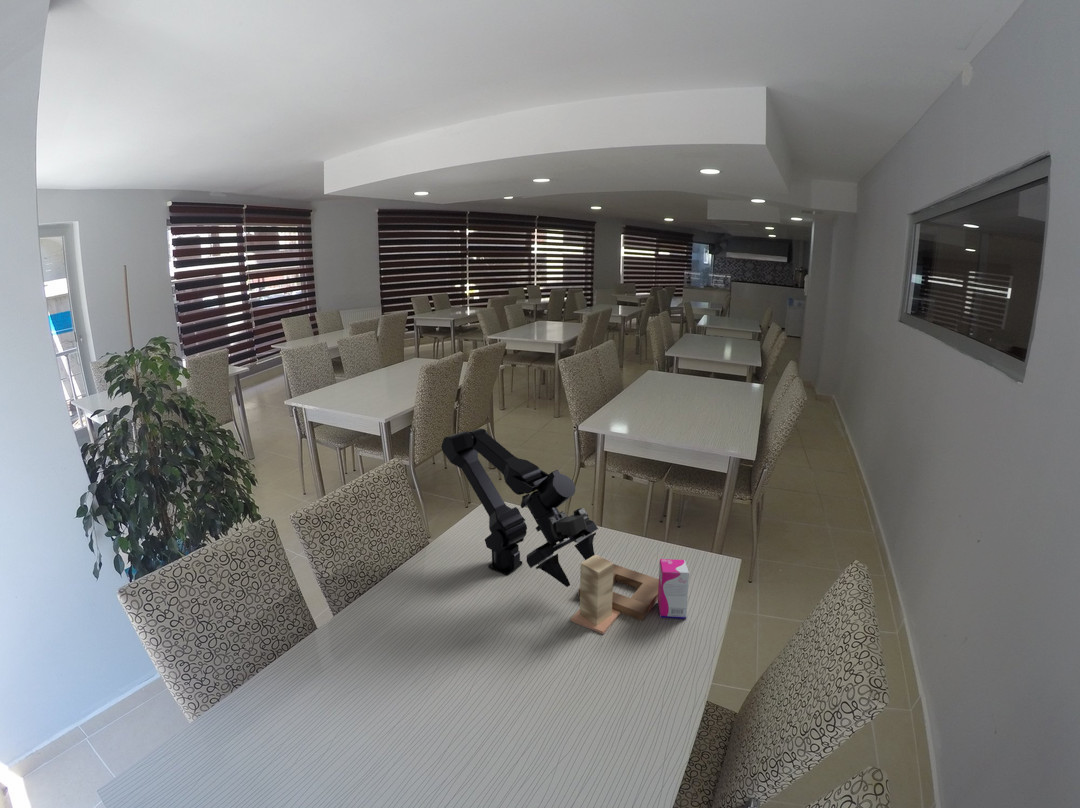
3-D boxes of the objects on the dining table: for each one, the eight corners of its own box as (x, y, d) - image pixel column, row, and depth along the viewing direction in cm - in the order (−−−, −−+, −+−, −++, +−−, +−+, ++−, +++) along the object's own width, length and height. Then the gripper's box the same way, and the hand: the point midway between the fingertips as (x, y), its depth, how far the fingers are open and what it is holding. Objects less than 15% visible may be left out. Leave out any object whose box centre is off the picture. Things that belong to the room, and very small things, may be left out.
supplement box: (682, 603, 130) (686, 558, 127) (686, 619, 125) (690, 573, 121) (656, 601, 131) (659, 557, 128) (659, 618, 125) (662, 572, 122)
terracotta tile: (570, 620, 124) (570, 618, 124) (588, 602, 131) (588, 599, 131) (603, 634, 120) (603, 631, 120) (620, 614, 126) (620, 611, 126)
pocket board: (578, 596, 133) (578, 589, 132) (606, 568, 144) (606, 561, 143) (642, 620, 124) (642, 613, 124) (666, 589, 135) (666, 581, 135)
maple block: (579, 615, 125) (580, 563, 122) (594, 605, 129) (595, 554, 125) (596, 625, 122) (598, 572, 118) (611, 615, 125) (613, 563, 122)
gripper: (535, 515, 118) (574, 583, 114) (593, 487, 131) (630, 548, 127) (510, 535, 126) (546, 600, 121) (567, 507, 138) (601, 565, 134)
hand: (582, 577), depth 126 cm, fingers open, 9 cm apart
